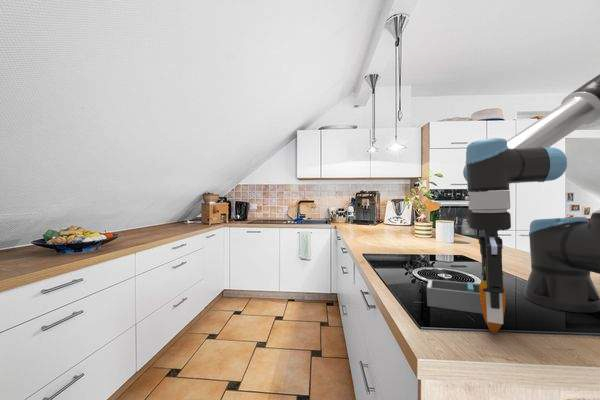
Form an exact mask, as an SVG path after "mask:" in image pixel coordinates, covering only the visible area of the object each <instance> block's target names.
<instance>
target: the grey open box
mask: <svg viewBox="0 0 600 400" xmlns="http://www.w3.org/2000/svg"><path fill="white" fill-rule="evenodd" d="M472 284H473V288H474V292H468V289H467V282H464V281H463V282H462V281H453V280H442V279H441V280H440V279H432V278H430V279H428V280H427V286H426V302H427V304H426V305H427V307H430V308H431V307H432V308H437V309H445V310H453V311H460V312H467V313H473V314H474V313H475V314H481V315H483V313H482V309H481V303H480V293H479V286H480V283H476V282H475V283H474V282H472Z"/></svg>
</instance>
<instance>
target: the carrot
mask: <svg viewBox="0 0 600 400" xmlns="http://www.w3.org/2000/svg"><path fill="white" fill-rule="evenodd" d="M484 270H485V274H486V267H484ZM504 275H505V273H504V272H503V276H504ZM479 284H480V286H479V293H480V303H481V309H482V313H483V314H482V316H483V320H484V322H485V324H486V325H487V327H488V329H489V331H490V332H491V333H492V334H493V335H495V334H497V333H498V332H499V331H500V329H501V327H502V325H503V324H499V323H492V322H487V305H486V292H483V288H484V289H486V288H487V282H486V281H483V280H482V281H481V282H480V283H479ZM503 289H504V293H502V304H503V319H504V318H505V313H506V287H505V285H504V284H503Z"/></svg>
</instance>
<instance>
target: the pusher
mask: <svg viewBox="0 0 600 400" xmlns="http://www.w3.org/2000/svg"><path fill="white" fill-rule="evenodd" d="M466 283H467V289H468V292H474V288H473V284H472V283H473V282H471V281H469V282H468V281H466Z"/></svg>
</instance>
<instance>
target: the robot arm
mask: <svg viewBox="0 0 600 400" xmlns="http://www.w3.org/2000/svg"><path fill="white" fill-rule="evenodd" d="M598 120H600V73H599V74H598V75H596V76H594V77H593V78H592V79H590V80H588V81H587V82H586V83H584V84H582V85H581V86H579V87H578V88H576V89H575V90H574V91H572V92H571V93H569V94H568V95H566V96H565V97H564V98H563V99H562V101H561V103H560V105H559V106H557V107H555V108H554V109H552V110H551V111H549V112H547V113H546V114H545V115H544V116H542V117H541V118H539V119H538V120H536V121H535V122H533V123H531V124H530V125H528V126H527V127H526V128H524V129H523V130H521V131H519V132H517V134H515V135H514V136H512V137H511V138H509V139H508V140H507V139H505V138H501V137H496V138H485V139H480V140H475V141H473V142H470V143H469V144H468V145H467V146H466V152H465V165H464V167H463V170H462V173H463V174H462V175H463V178H464V179H465V181H466V185H467V192H468V193H467V195H468V196H465V197H464V200H465V201H466V202H467V203H468V209H469V210H471V211H470V212H469V213H468V226H469V228H470V229H471V230H475V231H481V235H480V236H478V244H479V252H480V253H479V254H480V256H481V276H482V281H486V282H487V288H486V289H484V288H483V292H486V305H487V322H492V323H499V324H502V325H504V318H503V304H502V293H504V289H503V285H504V277H503V276H504V275H503V273H504V272H503V249H504V248H503V239H502V238H501V237H500V236H499V234H498V233H499V231H506V230H507V231H508V230H510V229H511V228H512V219H511V218H512V216H511V213H510V211H508V210H510V209H511V191H510V184H521V183H535V182H536V183H544V182H550V181H555V180H557V179H559V178H560V177H562V176H563V175H564V173H565V172H566V170H567V169H568V168H567V167H568V161H567V160H568V158H567V155H566V153H564V151H562V150H561V149H559V148H557V147H552V146H553V145H556V144H557V143H558V142H559V141H561V140H562V139H564V138H565V137H567V136H569V135H570V134H571V133H573V132H574V131H576V130H577V129H579V128H580V127H582V126H583V125H590V124H592V123H595V122H596V121H598ZM528 235H529V252H530V264H531V265H530V266H531V267H530V268H531V271H530V274H529V275H528V279H527V282H526V284H525V286H524V297H525V299H526V300H528V301H529V302H532V303H534V304H536V305H539V306H542V307H545V308H548V309H549V308H550V309H554V310H558V311H563V312H571V313H580V314H581V313H585V314H586V313H587V314H589V313H598V312H600V294H599V292H598V290H597V288H596V287H595V285H594V282H593V280H592V277H591V273H596V274H599V275H600V209H598V210H595V211H593V212H591V215H590V218H589V219H588V218H587V217H586V216H575V217H574V216H573V217H557V218H541V219H534V220H532V221H531V222H530V224H529V232H528ZM484 267H486V274H485V270H484Z"/></svg>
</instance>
